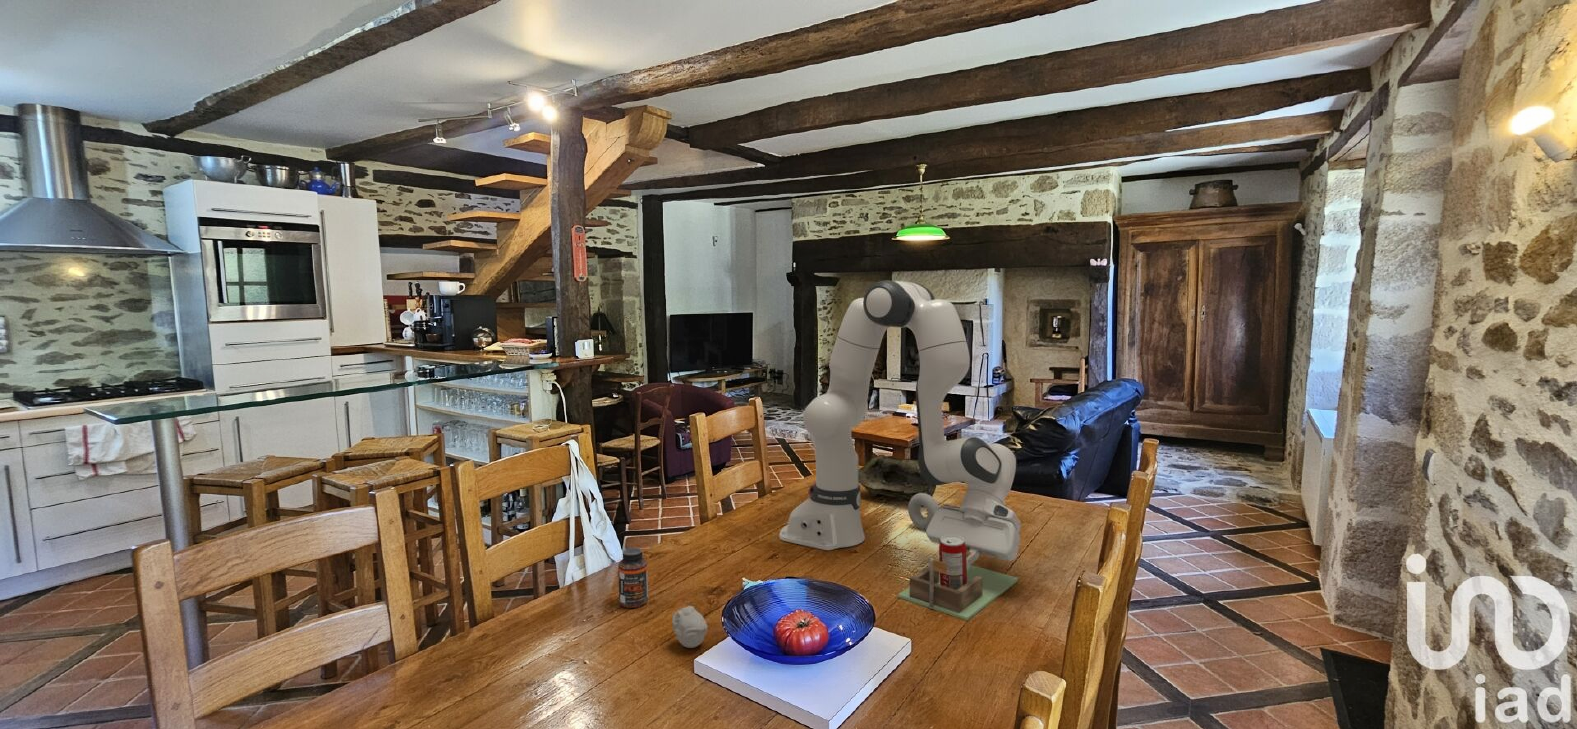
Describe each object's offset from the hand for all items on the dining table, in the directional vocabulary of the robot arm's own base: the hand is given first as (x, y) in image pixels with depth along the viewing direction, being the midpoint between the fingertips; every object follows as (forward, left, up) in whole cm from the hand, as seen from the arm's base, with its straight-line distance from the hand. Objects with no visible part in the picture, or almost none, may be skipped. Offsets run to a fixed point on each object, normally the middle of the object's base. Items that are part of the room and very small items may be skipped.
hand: (960, 568), depth 145 cm
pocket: (-3, -5, -4) cm, 7 cm away
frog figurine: (-43, -40, -5) cm, 59 cm away
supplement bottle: (-63, -29, -5) cm, 70 cm away
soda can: (-1, -3, -4) cm, 5 cm away
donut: (-14, +35, -5) cm, 38 cm away
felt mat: (0, +1, -5) cm, 5 cm away
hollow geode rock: (-26, +57, -5) cm, 63 cm away
